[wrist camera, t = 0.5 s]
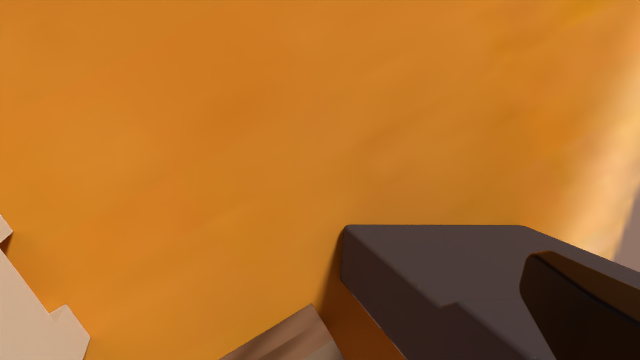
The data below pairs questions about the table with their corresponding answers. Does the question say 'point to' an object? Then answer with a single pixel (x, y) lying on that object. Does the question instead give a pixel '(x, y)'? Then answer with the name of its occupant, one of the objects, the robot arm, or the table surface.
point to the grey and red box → (454, 287)
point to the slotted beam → (291, 341)
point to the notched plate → (34, 320)
